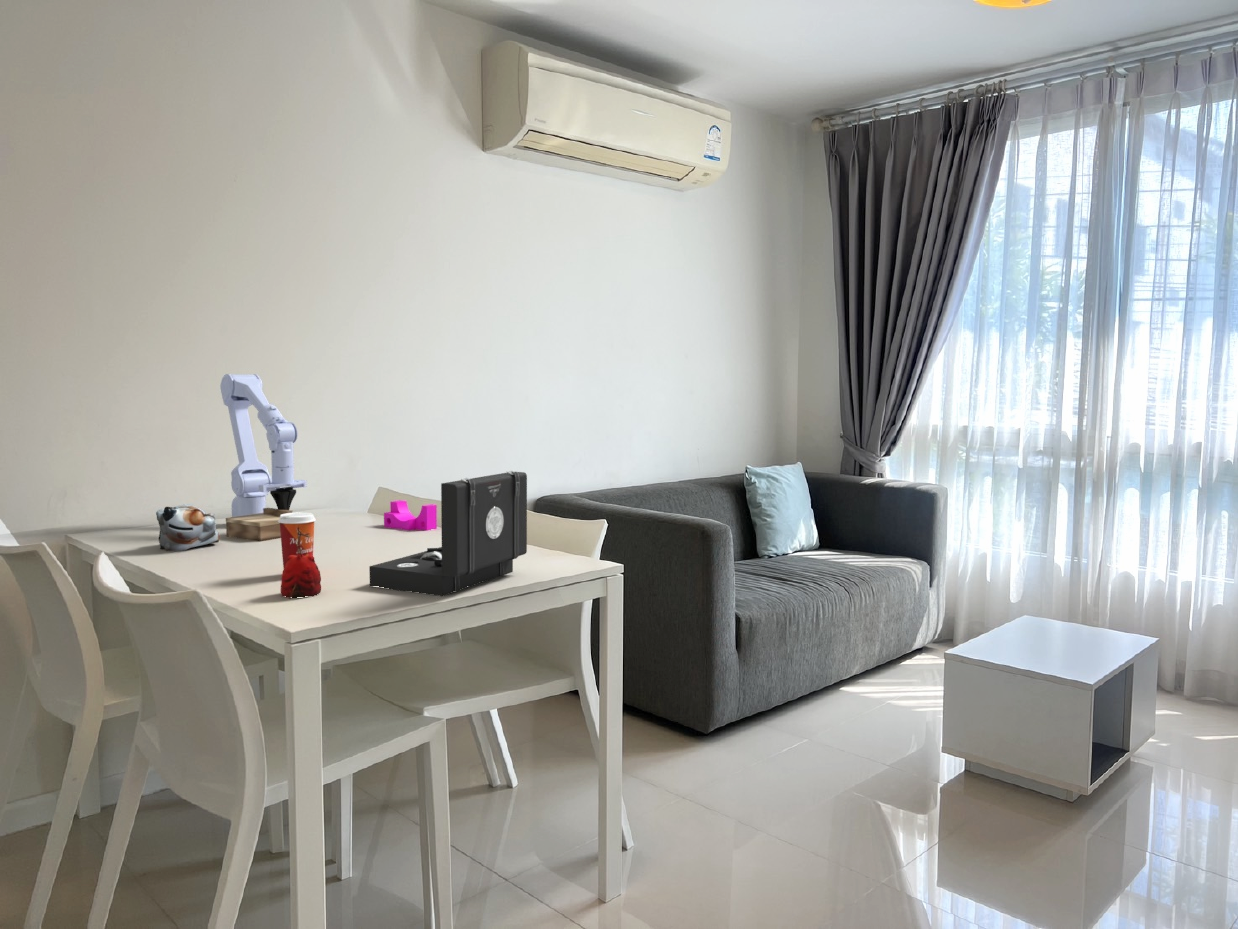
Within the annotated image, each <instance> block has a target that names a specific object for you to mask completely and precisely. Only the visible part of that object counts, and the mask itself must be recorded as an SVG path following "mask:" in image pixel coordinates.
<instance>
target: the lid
mask: <svg viewBox="0 0 1238 929" xmlns="http://www.w3.org/2000/svg"><path fill="white" fill-rule="evenodd" d="M286 513H293V510H290V509H289V510H282V509H278V508H273V507H272V508H271V507H266V508H263V513H258V514H251V515H244V516H237V517H232V516H231V517H226V518H225V523H226V522H230V523H237V524H244V525H251V526H258V527H262V526H269V525H275V524H280V523H279V522H278V520H280V515H282V514H286Z"/></svg>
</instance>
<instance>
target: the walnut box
mask: <svg viewBox="0 0 1238 929" xmlns="http://www.w3.org/2000/svg"><path fill="white" fill-rule="evenodd" d="M225 526H226V527H225V529H226V530H225V532H226V537H227V538H235V539H241V540H247V539H248V540H247V541H255V542H265V541H271V540H277V539H281V533H280V524H275V525H269V526H262V527H258V526H251V525H244V524H237V523H230V522H226V521H225Z"/></svg>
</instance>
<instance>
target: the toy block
mask: <svg viewBox="0 0 1238 929" xmlns="http://www.w3.org/2000/svg"><path fill="white" fill-rule="evenodd" d="M407 502H408V501H407V500H400V499H399V500H393V501H390V505H389V506H390V507H389V508H390V509H389V510H390V511H389V512H388V511H387V512H383V527H384V528H391V529H396V530H403V529H404V530H405V531H412V530H420V531H432V530H431V529H434V530H437V529H438V528H437V526H438V521H437V520H438V516H437V515H438V514H437V513H438V510H437V508H438V507H437V506H438V505H437V504H434V503H433V504H424V505H421V509H420V513H419V514H418V516H417V517H416V516H415V515H413V514H412V512H411V511H410V509H409V507H408V503H407Z"/></svg>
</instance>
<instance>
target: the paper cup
mask: <svg viewBox="0 0 1238 929" xmlns="http://www.w3.org/2000/svg"><path fill="white" fill-rule="evenodd" d="M316 520H317V519H316V518H315V516H314V513H312V512H300V511H299V512H297V511H296V512H292V513H286V514H282V515H280V520H278V522H279V523H280V533H281V538H280V541H281V542H280V543H281V554H282V556H281V557H282V566H283V568H282V569H284V567H285V565H286V563H287V562H288V557H289V556H290V555H295V556H297V552H298V547H297V543H298V535H297V530H298V529H297V528H298V526H299V530H300V531H301V533H302V534H307V533H310V535H309V536H310V538H308V537H305V536H302V535H301V538H300V543H301V546H300V550H301V553H302V555H303V556H308V555H312V556H313V557H314V540H315V539H314V538H315V537H314V536H315V522H316ZM296 529H297V530H296Z"/></svg>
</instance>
